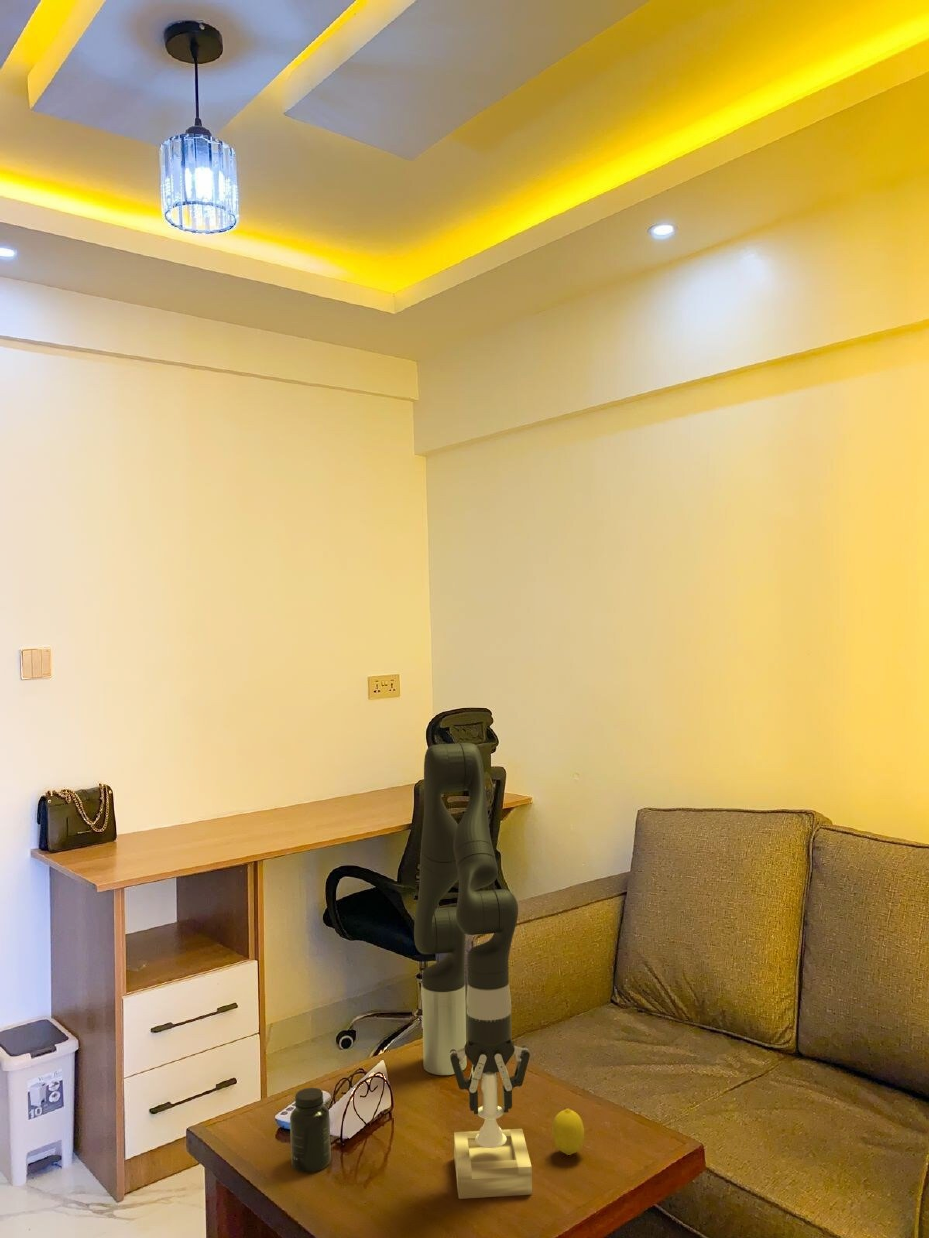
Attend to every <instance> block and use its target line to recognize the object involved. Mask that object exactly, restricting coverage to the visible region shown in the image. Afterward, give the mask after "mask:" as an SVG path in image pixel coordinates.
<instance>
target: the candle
mask: <svg viewBox="0 0 929 1238" xmlns="http://www.w3.org/2000/svg"><path fill="white" fill-rule="evenodd" d="M497 1073H498V1072H492V1071H489V1072H486V1073H482V1075H481V1083H480V1090H481V1092H482V1096H481V1097H482V1098H481V1099H482V1106H480V1107H479V1106H478V1114H476V1115H477V1116H478V1117H480V1118H482V1119H484V1122H483V1125H482V1126H481V1127H480V1128H479V1130H478V1131H479V1134H478V1135H477V1136H476V1137H475V1141H476V1143H477V1144H478V1145H480V1146H482V1147H485V1148H496V1147H500V1146H502V1145H503V1144H505V1142H506V1140H507V1138H506V1136H505V1135H504V1134H503V1133H502V1130H503V1129H502V1128H501V1127H500V1126H499V1124H498V1122H497V1119H499V1118H501V1117H502V1116H503V1115H504V1114H505V1113H504V1109H503V1107H501V1106H499V1105H498V1104H499V1103H498V1102H499V1101H498V1074H497Z"/></svg>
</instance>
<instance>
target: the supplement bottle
mask: <svg viewBox="0 0 929 1238" xmlns="http://www.w3.org/2000/svg"><path fill="white" fill-rule="evenodd" d="M294 1096H295V1097H294V1108H293V1110H292V1111H291V1113H290V1116H289V1127H290V1128H289V1130H290V1131H289V1133H290V1136H289V1137H290V1159H291V1166H292V1167H293V1168H294V1170H295V1171H296V1172H300V1173H303V1174H310V1173H316V1172H319V1171H321V1170H323V1169H325V1168H326V1167H327V1166H328V1165H329V1163H330V1162H331V1157H332V1156H331V1155H332V1154H331V1149H332V1148H331V1126H330V1125H331V1124H330V1123H331V1121H330V1119H331V1118H330V1111H329V1109H328V1107H327V1106H326V1105H325V1104H324V1101H325V1100H324V1092H323V1090H321V1089H320V1088H317V1087H305V1088H303V1089H300V1090H298V1091H297V1092H296V1093H295V1095H294Z"/></svg>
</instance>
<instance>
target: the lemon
mask: <svg viewBox="0 0 929 1238" xmlns="http://www.w3.org/2000/svg"><path fill="white" fill-rule="evenodd" d="M552 1139H553V1142H554V1145H555V1147H556V1148H557V1149H558V1150H559V1151H560V1152H562V1154H563V1153H564V1154H565V1155H567V1156H568V1155H570V1156H571V1155H572V1154H575V1153H577V1152H578V1151H579V1150H580V1149H581V1148H582V1146H583V1144H584V1140H585V1127H584V1123H583V1120H582V1118H581V1116H580V1114H578V1113H577V1112H575V1111H574V1110H572V1109H570V1108H566V1109H563V1110H561V1111H560V1112H558V1113H557V1114H556V1116H555V1117H554V1120H553V1122H552Z"/></svg>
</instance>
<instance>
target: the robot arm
mask: <svg viewBox="0 0 929 1238" xmlns="http://www.w3.org/2000/svg"><path fill="white" fill-rule="evenodd" d="M423 760H424V761H423V822H422V831H421V842H420V854H419V856H420V858H419V886H418V897H417V904H416V910H415V918H414V926H413V939H414V944H415V948H416V949H417V952H419V953H420V954H422V955H436V954H437V955H438V954H439V955H440V954H446V955H445V956H444V957H443V958H442V959H440V960H439V961H437V962H435V963H433V964H432V965H429V966H428V967H426V968H424V970H423V971H422V974H421V1000H422V1001H421V1002H422V1005H421V1006H422V1053H423V1054H422V1055H423V1056H422V1059H423V1061H422V1062H423V1069H424V1070H425V1071H426V1072H427V1073H429V1074H432V1075H437V1076H451V1075H454V1076H455V1081H456V1082H457V1086H458V1089H459V1090H462V1091H463V1090H466V1091H468V1104H469V1105H468V1106H469V1110H470V1112H473V1115H477V1114H478V1108H479V1092H478V1085H479V1082H480V1081H481V1079H482V1073H486V1072H489V1071H492V1072H496V1073H499V1074H500V1075H499V1076H500V1078H501V1080H502V1083H503V1085H502V1108H503V1110H504V1114H506V1113H509V1110H511V1109H512V1107H513V1089H514V1088H516V1087H518V1088H520V1087H522V1086H523V1083H524V1079H525V1077H526V1076H525V1075H526V1071H527V1069H528V1068H527V1067H528V1065H529V1059H530V1056H531V1054H530V1050H529V1048H528V1045H522V1046H521V1047H520V1046H518V1045H517V1046H516V1045H514V1041H512V1003H511V1002H512V1001H511V999H512V998H511V990H510V983H509V982H510V978H509V975H510V974H509V973H510V972H509V970H510V969H509V968H510V967H509V966H510V965H509V962H510V960H509V959H510V958H509V957H510V952H511V946H512V941H513V939H514V938H513V937H514V934H515V930H516V927H517V923H518V918H519V905H518V902H517V898H516V896H515V895H514V894H513V893H512V892H511V891H510V890H508V889H493V890H491V889H490V890H479V889H483V888H485V887H488V886H489V885H491V884H493V883H494V882H495V881H496V880H497V878H498V876H499V875H498V874H499V867H498V864H497V859H496V854H495V850H494V846H493V841H492V837H491V832H490V823H489V814H488V813H489V811H488V799H487V789H486V780H485V772H484V771H485V770H484V764H483V757H482V755H481V751H480V750H479V748H478V746H477V745H476V744H474V743H471V742H459V743H458V742H457V743H445V744H444V743H442V744H441V743H440V744H439V743H438V744H434V745H430V746H428V747H427V749H426V752H425V755H424V759H423ZM466 791H468V795H469V799H468V803H467V806H466V809H465V811H464V813H463V815H462V817H461V819H460V821H459V822H457V821H456V819H455V818H454V817H453V816H452V815H451V813H450V812H449V811H448V809H447V807H446V805H445V803H444V801H443V799H442V794H443V793H452V792H453V793H454V792H466ZM457 881H458V894H457V902H456V906H451V907H438V908H437V906H439V905H438V904H439V903H440V901H441V900H442V898H443V897H444V896H446V894H447V893H449V891H450V890H452V889H451V888H452V887H454V885H455V884H456V883H457ZM487 934H492V936H491V938H490V939H489V940H488V941H485V942H483V943H480V944H479V945H474V946H472V947H471V948H470V949H469V950H468V952H467V957H466V939H467V937H466V936H467V935H468V936H478V935H487ZM466 961H467V962H466ZM466 964H467V967H466ZM466 968H467V971H466ZM466 972H467V986H466ZM466 987H467V988H466ZM513 1055H515V1059H516V1061H517V1062H516V1065H515V1066H516V1067H515V1071H514V1075H511V1076H510V1074H509V1071H508V1069H507V1068H508V1067H507V1066H506V1065H507V1064H508V1062H509V1061H510V1059H511V1058H512V1056H513ZM467 1059H468V1060H469V1061H470V1063H471V1066H472V1067H471V1070H470V1071H471V1072H470V1075H469V1078H465V1075H464V1070H465V1069H466V1068H467Z"/></svg>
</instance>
